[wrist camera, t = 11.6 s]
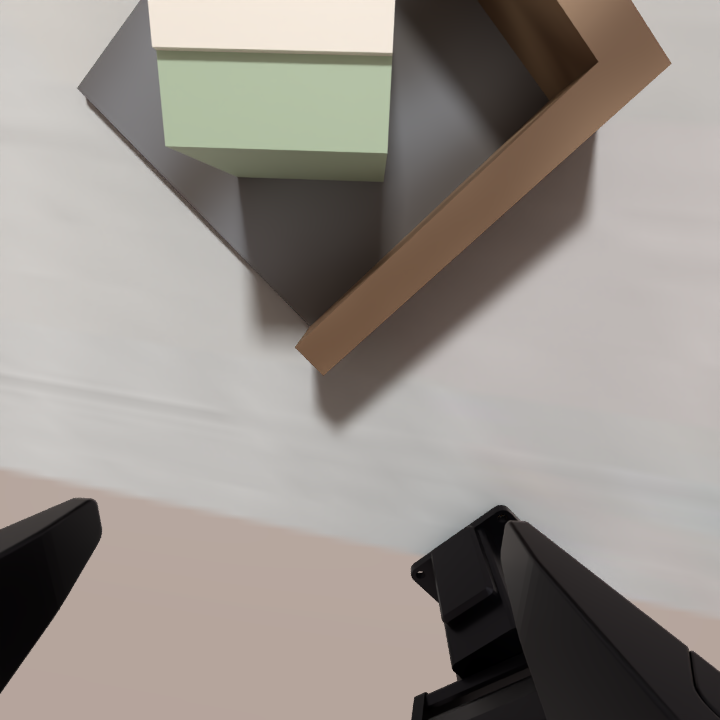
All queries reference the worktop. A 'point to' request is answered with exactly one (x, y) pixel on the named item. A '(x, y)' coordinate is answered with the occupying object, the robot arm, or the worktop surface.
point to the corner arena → (404, 149)
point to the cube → (277, 85)
